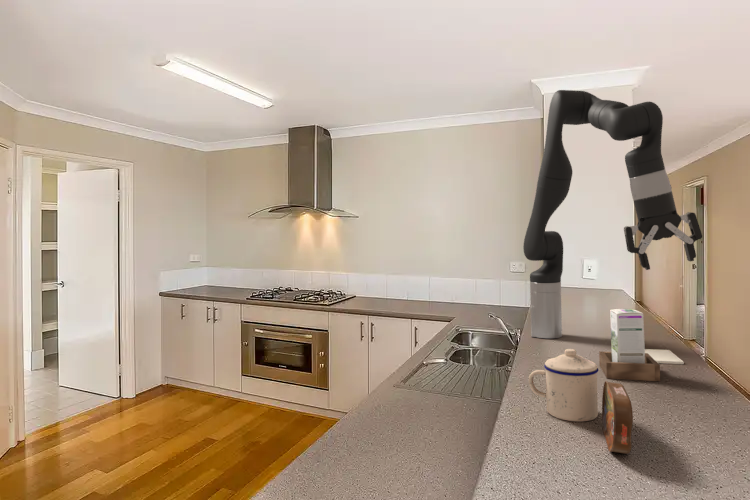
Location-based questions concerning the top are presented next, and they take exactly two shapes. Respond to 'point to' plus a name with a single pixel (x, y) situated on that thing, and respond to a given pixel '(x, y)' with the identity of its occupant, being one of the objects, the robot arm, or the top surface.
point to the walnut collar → (629, 368)
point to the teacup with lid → (569, 387)
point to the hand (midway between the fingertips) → (668, 265)
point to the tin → (617, 417)
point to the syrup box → (627, 336)
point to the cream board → (664, 356)
